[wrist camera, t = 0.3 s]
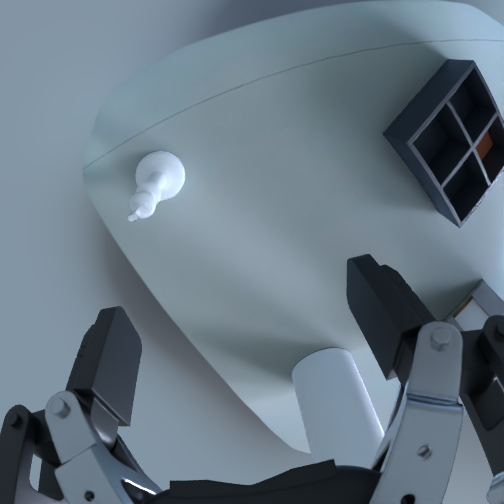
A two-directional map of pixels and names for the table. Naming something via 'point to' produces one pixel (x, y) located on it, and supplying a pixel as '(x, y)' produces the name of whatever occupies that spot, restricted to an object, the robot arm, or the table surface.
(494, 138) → the tray
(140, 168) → the chess piece
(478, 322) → the cabinet
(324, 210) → the table surface
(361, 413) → the tall pillar cylinder
